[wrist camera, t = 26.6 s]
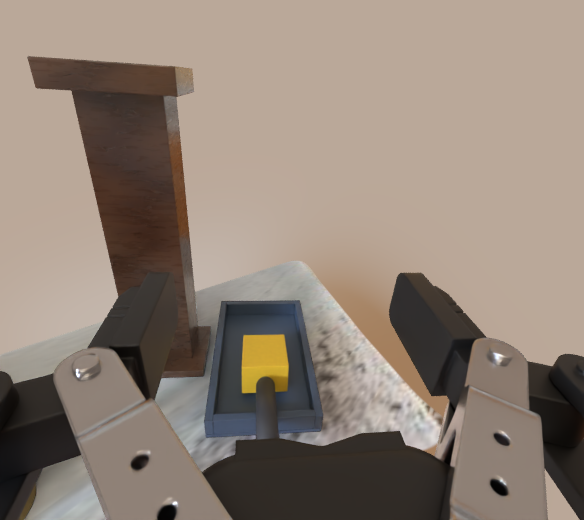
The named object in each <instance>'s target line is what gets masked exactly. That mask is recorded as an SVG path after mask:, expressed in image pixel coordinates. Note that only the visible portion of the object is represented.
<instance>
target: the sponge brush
mask: <svg viewBox="0 0 584 520" xmlns="http://www.w3.org/2000/svg"><path fill="white" fill-rule="evenodd" d="M288 371H289V364H288V357H287V350H286V343H285V336H284V335H244V336H243V353H242V393H256V439H272V438H279V431H278V419H277V406H276V393H275V392H286V391H287V390H288Z"/></svg>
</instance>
